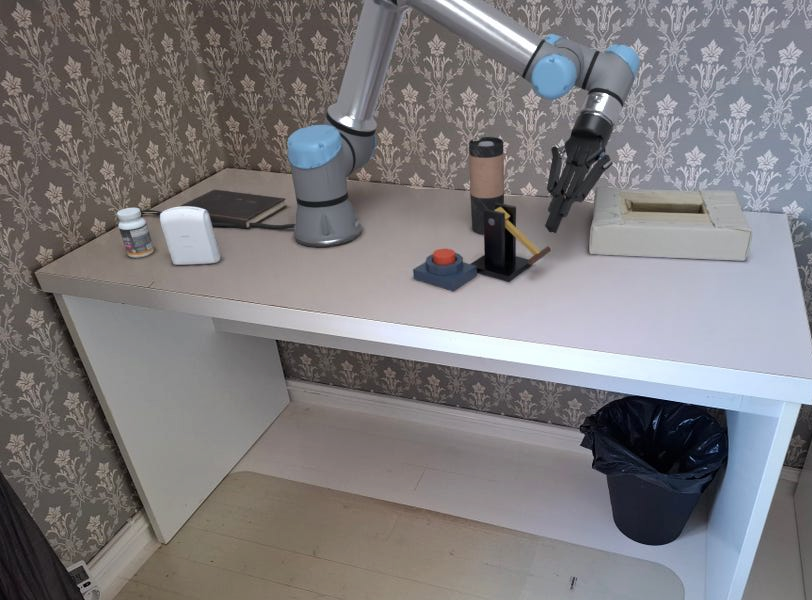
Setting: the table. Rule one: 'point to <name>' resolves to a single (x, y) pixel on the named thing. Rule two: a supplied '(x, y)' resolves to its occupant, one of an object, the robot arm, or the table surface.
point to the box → (669, 224)
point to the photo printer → (189, 235)
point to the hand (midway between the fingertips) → (550, 229)
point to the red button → (444, 256)
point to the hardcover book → (237, 207)
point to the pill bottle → (134, 233)
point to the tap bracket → (500, 246)
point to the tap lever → (524, 239)
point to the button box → (445, 273)
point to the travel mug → (485, 178)
